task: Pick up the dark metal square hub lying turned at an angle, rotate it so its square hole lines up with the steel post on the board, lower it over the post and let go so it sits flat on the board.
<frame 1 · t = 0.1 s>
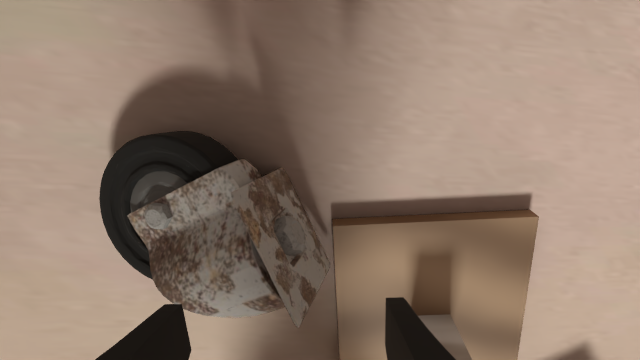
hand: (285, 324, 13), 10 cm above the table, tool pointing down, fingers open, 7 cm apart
caster wheel: (218, 207, 23), on the table
post board: (425, 320, 25), on the table
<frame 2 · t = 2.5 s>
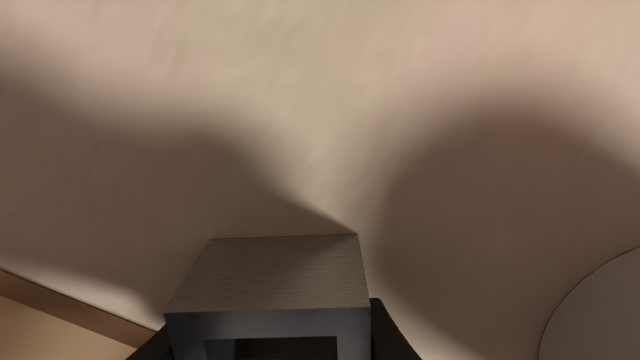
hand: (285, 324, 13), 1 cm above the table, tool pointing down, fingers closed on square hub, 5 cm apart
square hub: (289, 298, 14), on the table, touching gripper
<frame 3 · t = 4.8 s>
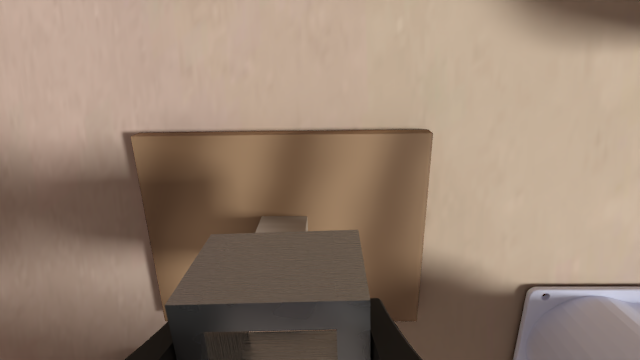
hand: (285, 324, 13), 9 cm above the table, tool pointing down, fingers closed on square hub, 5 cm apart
square hub: (289, 294, 14), point 8 cm above the table, touching gripper
post board: (287, 228, 22), on the table
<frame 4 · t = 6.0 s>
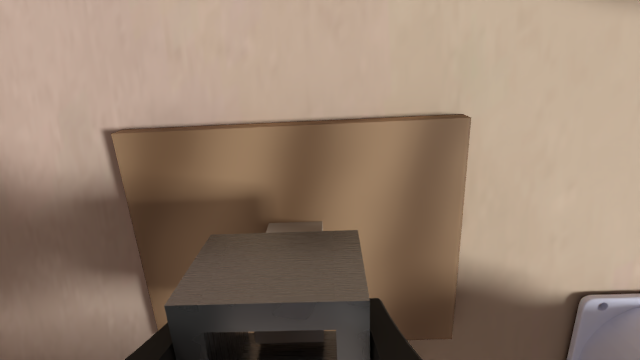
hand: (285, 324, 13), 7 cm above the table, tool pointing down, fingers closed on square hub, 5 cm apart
square hub: (289, 294, 14), point 5 cm above the table, touching gripper
post board: (298, 236, 19), on the table
when the fingers open (4 cm above the table, at t = 7.2 s): square hub drops 1 cm, resting on post board.
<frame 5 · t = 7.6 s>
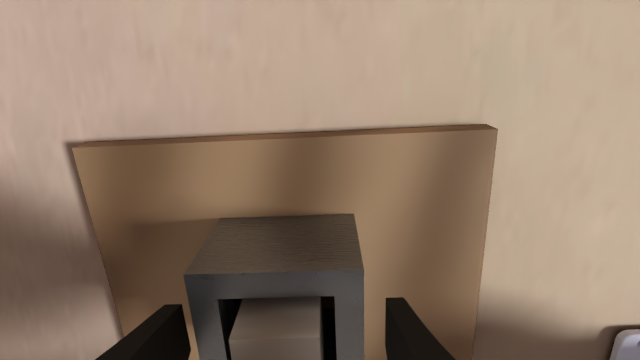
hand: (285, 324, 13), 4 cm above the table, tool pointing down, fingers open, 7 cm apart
square hub: (291, 273, 15), point 1 cm above the table, touching post board
post board: (294, 263, 16), on the table
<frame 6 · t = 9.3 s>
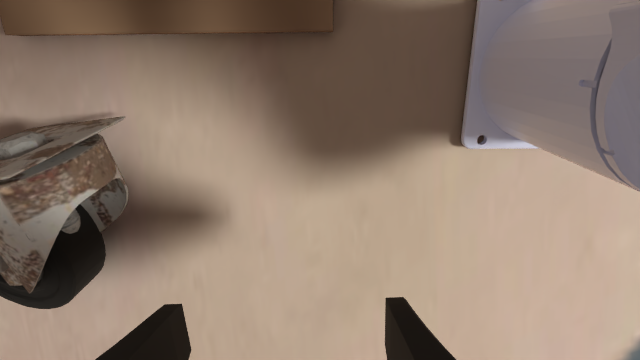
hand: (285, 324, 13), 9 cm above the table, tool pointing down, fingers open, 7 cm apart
caster wheel: (74, 205, 22), on the table
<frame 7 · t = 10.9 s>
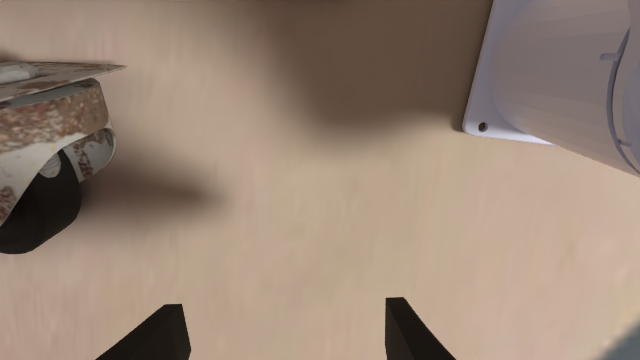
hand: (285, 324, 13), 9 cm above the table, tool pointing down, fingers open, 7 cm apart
caster wheel: (54, 151, 21), on the table
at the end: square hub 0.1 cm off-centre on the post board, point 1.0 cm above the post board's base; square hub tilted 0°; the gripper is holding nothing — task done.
